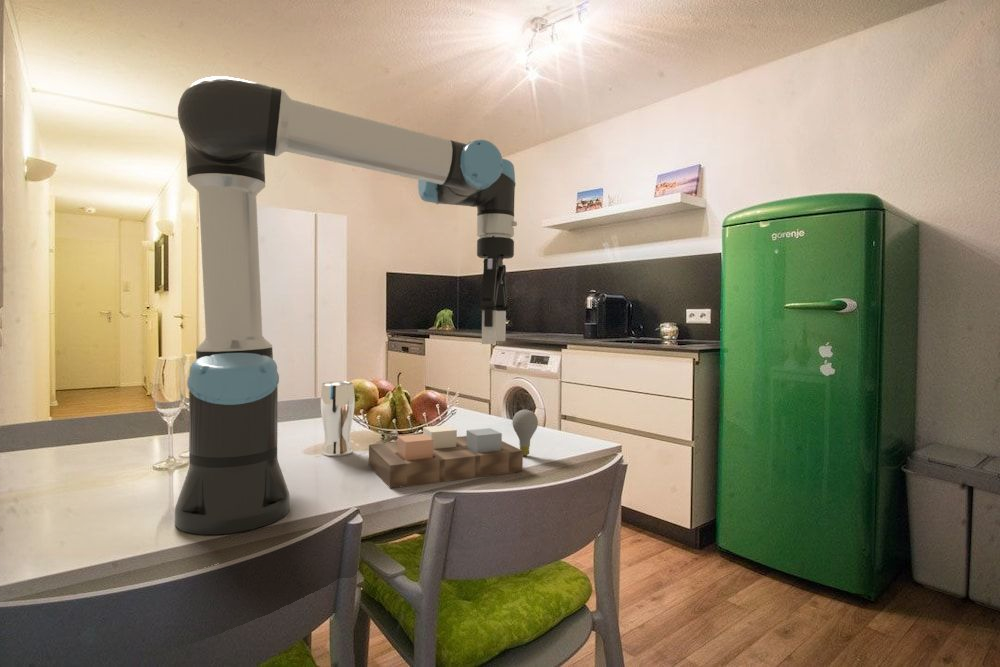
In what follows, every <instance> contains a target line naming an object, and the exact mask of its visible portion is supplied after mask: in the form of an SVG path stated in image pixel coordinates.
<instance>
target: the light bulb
mask: <svg viewBox="0 0 1000 667" xmlns="http://www.w3.org/2000/svg"><path fill="white" fill-rule="evenodd" d="M538 422H539V420H538V416H537V415H536V413H535V412H533V411H532V410H529V409H521V410H519V411H517V412H515V413H514V416H512V422H511V423H512V424H511V425H512V427H513V430H514V432H515V434H516V436H517V437H518V439H519V440H518V441H519V449H520V450H522V451H523V457H526V456H528V455H529V454H530V446H531V439H532V437H533V436H534V434H535V432H536V431H537V428H538V424H539V423H538Z"/></svg>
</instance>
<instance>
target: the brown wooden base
mask: <svg viewBox="0 0 1000 667" xmlns="http://www.w3.org/2000/svg"><path fill="white" fill-rule="evenodd" d="M466 440H467V435H463V436H457V444H456V447H448V448H438V449H433V458H425V459H415V460H406V461H404V460H402V459H401V458H400V457H399V456H398V455H397V442H396V441H395V442H386V443H377V444H376V443H375V444H368V466H369V468H371V469H372V470H373V471H374V473H375V474H376V475H377V476H378V477H379V478H380V479H381V480H382V481H383V482H384V483H386V484H387V485H388V486H389V487H390V488H389V487H388V486H387V485H386V484H385V485H386V486H387V487H388V488H389V489H392V488H391V487H397V488H401V487H400V486H405V487H411V485H413V486H420V485H427V484H436V483H444V482H448V481H449V482H450V481H451V482H452V481H458V480H465V479H474V478H481V477H489V476H496V475H505V474H511V473H512V474H513V473H521V472H523V467H524V466H523V462H524V461H523V459H524V456H523V451H522V450H520V448H517V447H516V446H513V445H511V444H510V443H507V442H505V441H503V440H502V449H501V450H499V451H490V452H481V453H475V452H473V451H472V450H470V449H468V448H466Z"/></svg>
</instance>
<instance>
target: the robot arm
mask: <svg viewBox="0 0 1000 667" xmlns="http://www.w3.org/2000/svg"><path fill="white" fill-rule="evenodd" d="M177 117H178V118H177V119H178V122H179V123H178V124H179V126H180V129H181V132H182V134H183V136H184V144H185V145H184V146H185V157H186V159H185V161H186V179H187V183H189V184H190V186H192V187H193V188H194V189H195V190H196V191H197V192H198V204H199V205H198V206H199V224H200V229H199V230H200V242H201V243H200V244H201V264H202V265H201V266H202V283H203V285H202V288H203V303H204V305H203V306H204V326H205V327H204V329H205V337H204V338H205V339H204V340H203V341H202V342H201V343H200V344H199V345H198V346H197V347H196V348H195V353H196V354H195V356H196V360H194V361H193V362H192V363H191V364H190V367H189V373H188V377H187V382H186V384H187V387H188V390H189V392H188V396H189V398H188V400H189V401H188V402H189V403H188V404H189V405H188V406H189V407H188V409H189V410H188V411H189V412H188V413H189V414H188V417H189V421H188V422H189V423H188V424H189V427H188V429H189V432H188V434H189V435H188V436H189V437H188V442H189V444H188V450H189V451H188V452H189V456H188V457H189V458H188V461H189V462H188V464H189V465H188V470H187V473H186V476H185V478H184V482H183V485H182V487H181V491H180V493H179V496H178V499H177V501H176V505H175V508H174V525H175V527H176V528H177V529H178V530H180V531H183V532H184V533H189V534H197V535H222V534H223V535H225V534H234V533H235V534H236V533H240V532H245V531H250V530H254V529H258V528H261V527H265V526H267V525H270V524H272V523H274V522H277V521H279V520H280V519H282V518H284V517H285V516H286V515H287V514H288V513H289V511H290V510H291V509H290V507H291V505H290V504H291V502H290V492H289V491H290V490H289V488H288V485H287V483H286V480H285V478H284V473H283V472H282V469H281V466H280V462H279V459H278V404H279V403H278V402H279V401H278V400H279V397H278V392H279V391H278V387H279V382H280V374H279V372H278V366H277V363H276V361H275V360H274V354H273V344H272V343H270V342H269V341H268V340H267V339H266V338H265V337H264V336H263V324H262V323H263V322H262V319H263V318H262V298H261V297H262V295H261V275H260V274H261V273H260V253H259V230H258V228H259V227H258V211H257V210H258V208H257V207H258V206H257V196H258V195H259V193H260V192H262V190H264V189H265V188H266V169H265V155H267V156H272V157H279V156H280V155H282V154H284V153H286V152H287V153H291V154H295V155H300V156H305V157H310V158H313V159H314V158H315V159H320V160H324V161H327V162H328V161H329V162H333V163H337V164H343V165H347V166H352V167H356V168H362V169H367V170H371V171H375V172H380V173H386V174H390V175H395V176H400V177H403V178H409V179H412V180H413V179H414V180H417V182H418V183H417V188H418V195H419V197H420V199H421V200H422V201H423V202H426V203H432V204H436V205H451V206H452V205H453V206H463V207H473V208H474V207H475V208H477V214H476V236H477V237H479V238H478V239H477V241H476V256H477V257H478V258H480V259H483V272H482V284H481V291H480V292H481V293H480V301H479V304H477V310H478V311H481V345H497V342H506V340H507V338H506V334H507V333H506V330H507V329H506V323H507V322H506V320H507V319H506V318H507V312H509V311H510V306H509V305H508V300H507V298H508V297H507V280H506V279H507V278H506V274H507V267H506V264H504V263H503V262H504V261H503V260H504V259H506V260H507V259H512V258H513V257H514V256H515V241H514V239H513V237H514V235H515V228H514V227H517V226H518V222H517V221H515V192H516V191H515V190H516V186H517V185H516V174H515V173H516V172H515V165H514V164H513V163H512V161H511V160H508V159H506V158H503V156H502V153H501V152H500V150H499V149H498V147H497V146H496V145H495V144H493V143H492V142H490V141H488V140H487V139H486V140H485V139H475V140H473V141H469V142H468V143H464V142H459V141H456V140H452V139H447V138H443V137H439V136H435V135H432V134H427V133H423V132H420V131H415V130H411V129H407V128H404V127H401V126H400V127H399V126H397V125H392V124H389V123H385V122H382V121H381V122H380V121H376V120H374V119H369V118H365V117H361V116H358V115H353V114H350V113H345V112H342V111H338V110H335V109H330V108H326V107H322V106H319V105H315V104H311V103H308V102H302V101H299V100H297V99H296V100H295V99H292V98H291V97H290V96H289V95H288V93H287V92H286V91H285V90H284V89H282V88H278V87H274V86H270V85H267V84H263V83H258V82H254V81H250V80H246V79H243V78H242V79H241V78H234V77H229V76H211V77H209V76H208V77H205V78H202V79H199V80H196V81H195V82H193V83H191V84H190V85H189V86H188V87H187V88H186V89H185V90H184V92H183V93H182V94H181V97H180V100H179V102H178V105H177ZM506 311H507V312H506Z"/></svg>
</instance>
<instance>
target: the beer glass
mask: <svg viewBox="0 0 1000 667" xmlns="http://www.w3.org/2000/svg"><path fill="white" fill-rule="evenodd" d="M354 384H355V383H354V382H352V381H327V382H322V383H321V391H320V392H321V393H320V411H321V412H320V414H321V420H322V427H323V432H324V442H323V447H322V448H323V449H322V455H323V456H328V457H341V456H342V457H343V456H347V455H350V454H352V452H353V447H352V441H351V431H352V424H353V419H354V413H355V400H356V399H355V386H354Z"/></svg>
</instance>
